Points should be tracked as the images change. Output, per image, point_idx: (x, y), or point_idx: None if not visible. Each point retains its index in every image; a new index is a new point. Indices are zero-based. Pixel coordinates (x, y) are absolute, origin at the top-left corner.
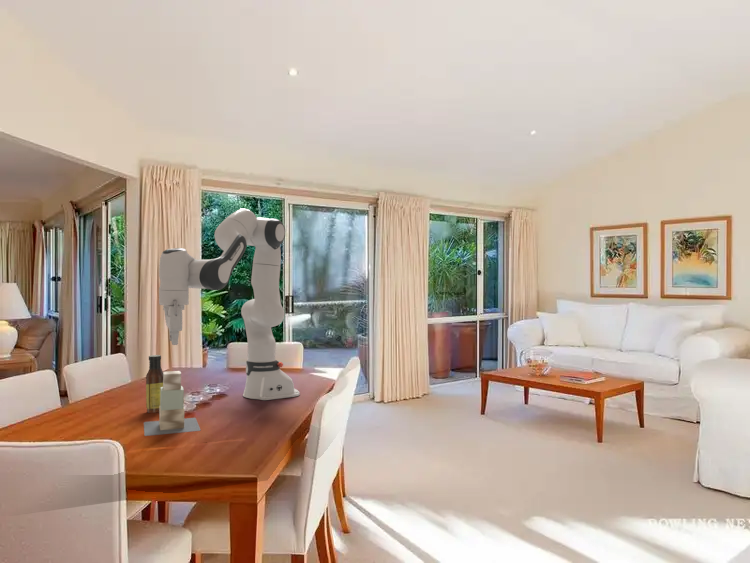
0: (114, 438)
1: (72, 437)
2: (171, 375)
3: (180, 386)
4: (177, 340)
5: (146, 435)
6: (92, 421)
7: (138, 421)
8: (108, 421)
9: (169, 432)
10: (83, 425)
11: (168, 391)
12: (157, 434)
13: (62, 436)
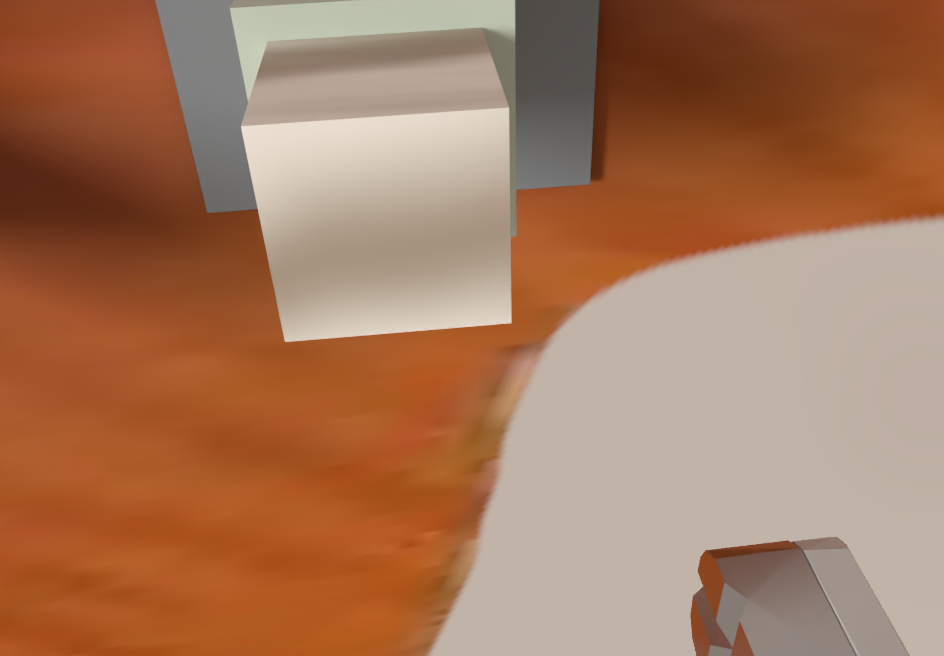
0: (525, 334)
1: (430, 506)
2: (505, 227)
3: (486, 45)
4: (884, 634)
5: (586, 172)
6: (98, 482)
7: (125, 244)
8: (106, 410)
9: (571, 16)
10: (189, 505)
11: (512, 165)
12: (590, 103)
13: (397, 543)
